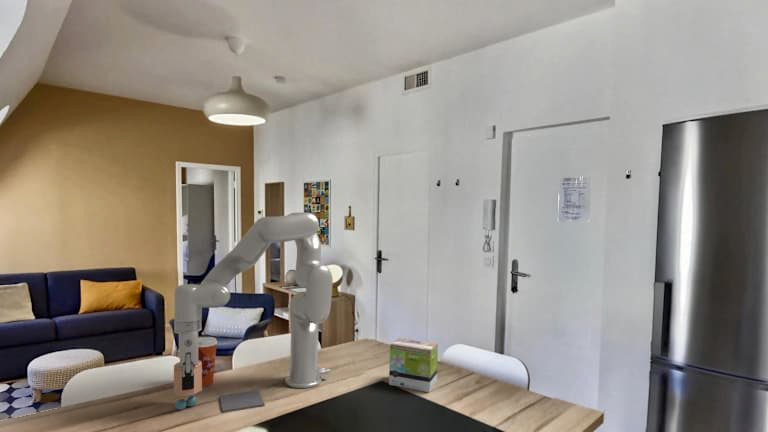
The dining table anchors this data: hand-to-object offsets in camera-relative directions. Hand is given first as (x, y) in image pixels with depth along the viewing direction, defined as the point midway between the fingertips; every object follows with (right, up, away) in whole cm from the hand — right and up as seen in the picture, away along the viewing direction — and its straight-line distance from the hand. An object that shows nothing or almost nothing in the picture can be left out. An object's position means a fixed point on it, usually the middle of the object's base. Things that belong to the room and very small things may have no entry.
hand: (187, 383), depth 128 cm
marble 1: (-2, -7, -2) cm, 7 cm away
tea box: (+70, -9, +22) cm, 73 cm away
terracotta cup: (0, -2, 0) cm, 2 cm away
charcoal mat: (+15, -7, +5) cm, 17 cm away
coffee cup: (-3, -7, +19) cm, 21 cm away
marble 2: (+1, -7, +1) cm, 7 cm away
